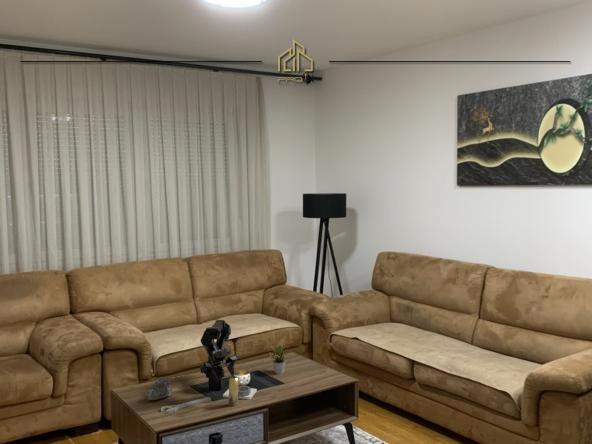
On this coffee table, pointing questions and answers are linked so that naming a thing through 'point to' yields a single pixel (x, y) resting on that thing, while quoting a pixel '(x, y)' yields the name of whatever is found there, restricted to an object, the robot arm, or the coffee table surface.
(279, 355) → the house plant
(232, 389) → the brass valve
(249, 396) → the pipe plate
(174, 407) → the adjustable wrench
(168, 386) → the mineral rock
